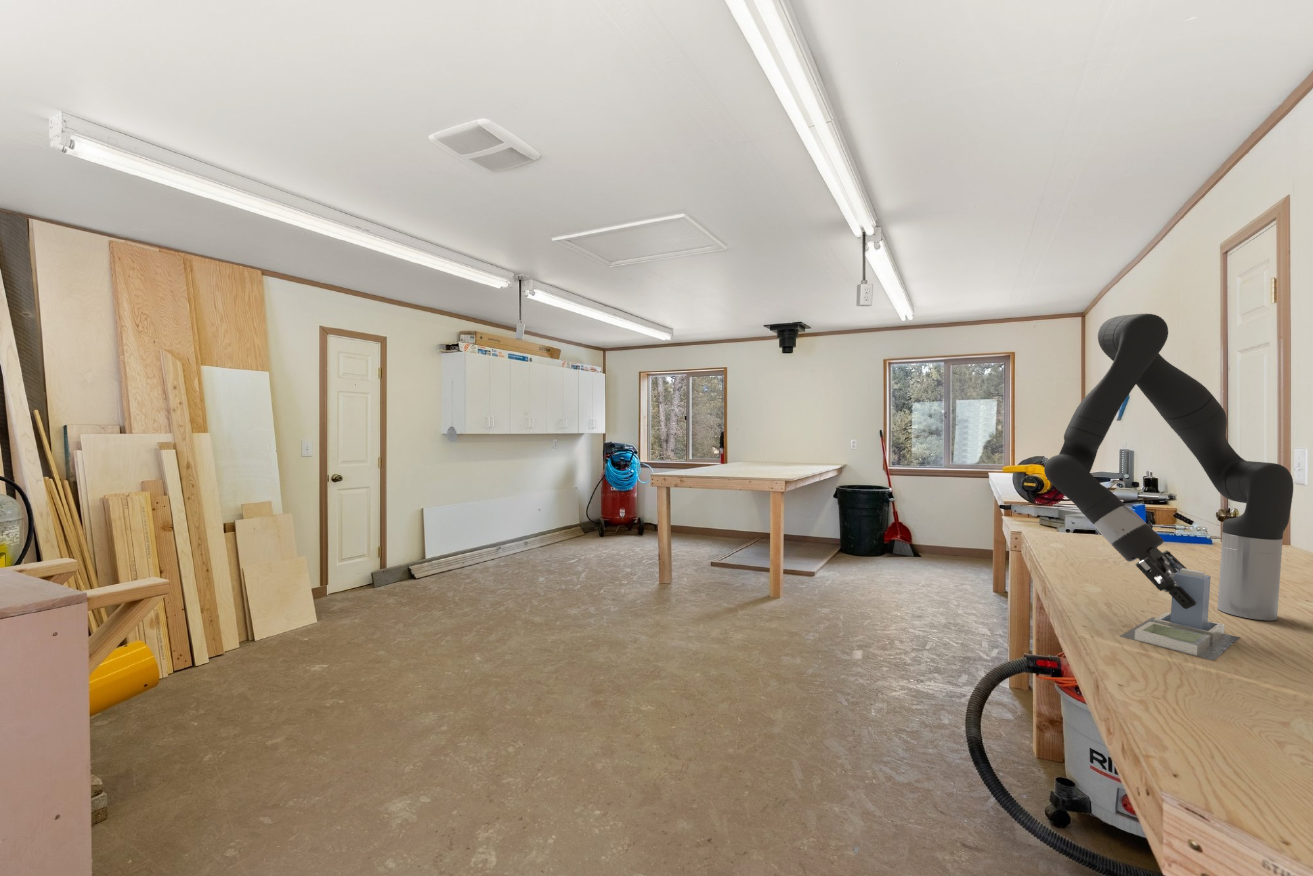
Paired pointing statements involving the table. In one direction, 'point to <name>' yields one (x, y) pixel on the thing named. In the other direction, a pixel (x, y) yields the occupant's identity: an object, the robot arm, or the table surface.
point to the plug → (1199, 591)
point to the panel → (1183, 637)
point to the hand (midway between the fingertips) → (1197, 603)
